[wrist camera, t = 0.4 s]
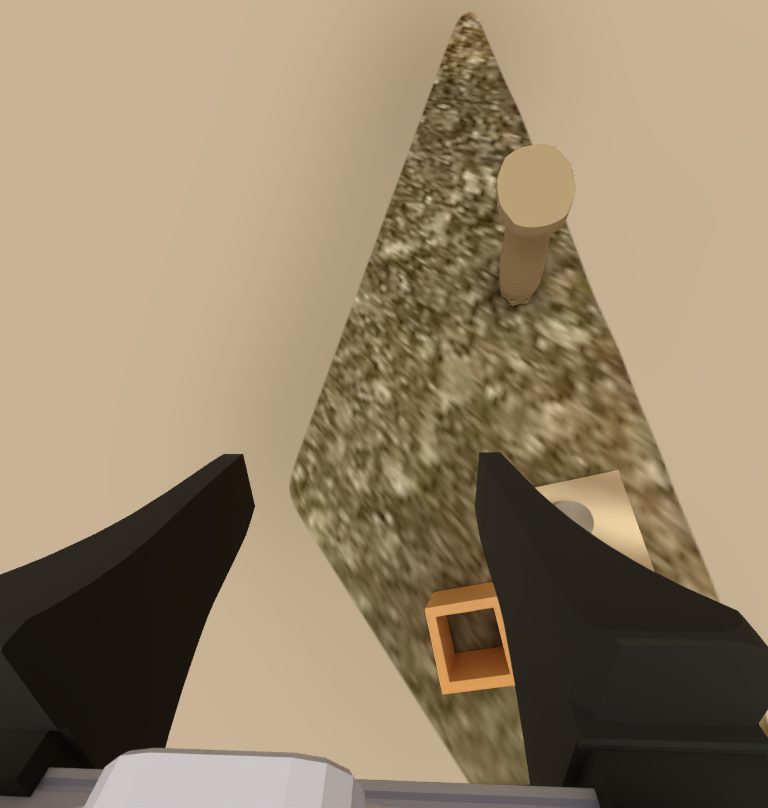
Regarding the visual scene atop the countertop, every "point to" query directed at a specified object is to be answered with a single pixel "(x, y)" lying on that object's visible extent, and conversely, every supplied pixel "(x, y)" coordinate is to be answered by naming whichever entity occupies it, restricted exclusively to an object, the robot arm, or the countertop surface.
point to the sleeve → (468, 666)
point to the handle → (531, 215)
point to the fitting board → (601, 511)
